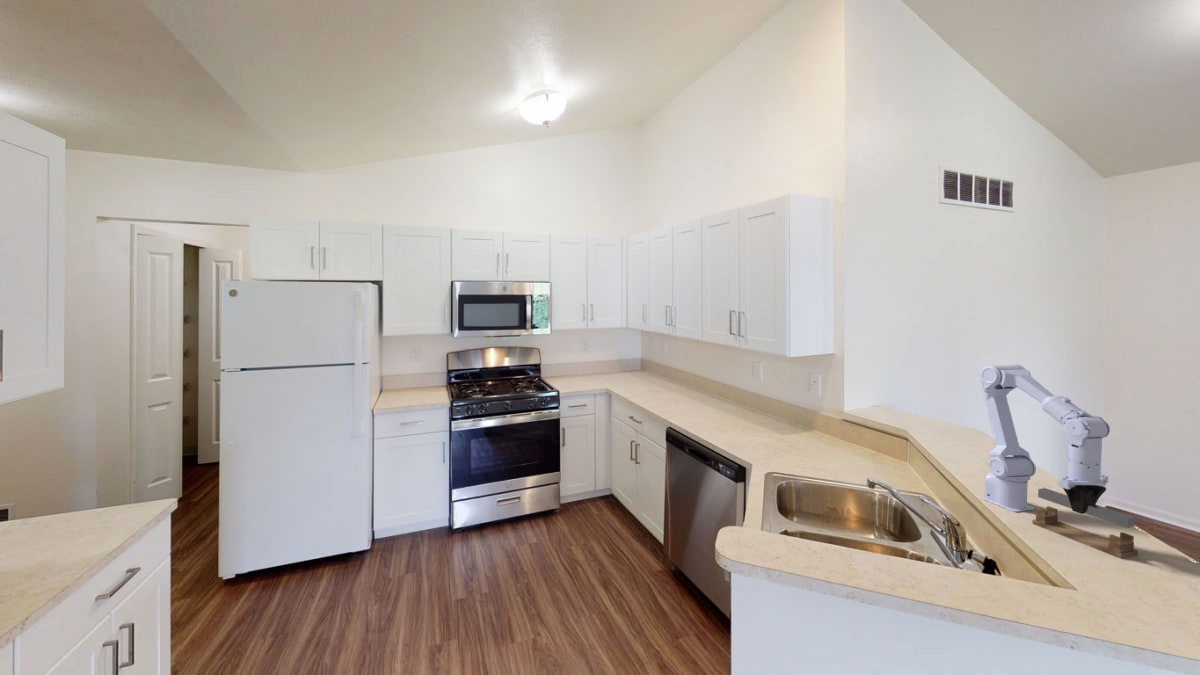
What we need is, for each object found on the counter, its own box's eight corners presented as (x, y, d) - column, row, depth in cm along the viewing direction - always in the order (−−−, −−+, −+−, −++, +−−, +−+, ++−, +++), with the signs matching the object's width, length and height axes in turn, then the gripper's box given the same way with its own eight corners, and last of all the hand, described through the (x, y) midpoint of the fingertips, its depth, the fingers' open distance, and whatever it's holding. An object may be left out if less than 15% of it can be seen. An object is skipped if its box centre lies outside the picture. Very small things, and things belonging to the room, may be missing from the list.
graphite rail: (1038, 497, 122) (1038, 488, 122) (1044, 496, 123) (1044, 487, 123) (1127, 528, 105) (1127, 518, 105) (1134, 526, 105) (1134, 517, 105)
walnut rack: (1032, 523, 122) (1032, 507, 122) (1047, 520, 124) (1048, 505, 123) (1120, 558, 105) (1121, 540, 104) (1137, 554, 106) (1138, 536, 106)
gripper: (1084, 469, 107) (1082, 522, 108) (1125, 463, 111) (1122, 514, 111) (1049, 460, 114) (1047, 509, 115) (1088, 454, 117) (1086, 502, 118)
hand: (1082, 511), depth 114 cm, fingers closed on graphite rail, 2 cm apart
